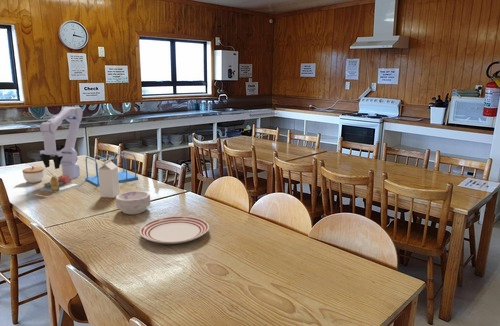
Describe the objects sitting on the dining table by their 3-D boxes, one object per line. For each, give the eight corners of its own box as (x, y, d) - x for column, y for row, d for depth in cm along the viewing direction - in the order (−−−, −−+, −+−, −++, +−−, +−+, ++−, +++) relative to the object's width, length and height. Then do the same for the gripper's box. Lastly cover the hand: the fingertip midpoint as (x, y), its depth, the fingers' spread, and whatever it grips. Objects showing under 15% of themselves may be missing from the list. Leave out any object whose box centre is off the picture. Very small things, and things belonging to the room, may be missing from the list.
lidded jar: (38, 185, 216) (36, 169, 214) (19, 184, 216) (17, 168, 214) (48, 179, 226) (46, 164, 224) (30, 179, 227) (29, 164, 224)
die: (63, 181, 220) (62, 174, 219) (69, 182, 220) (69, 175, 219) (59, 183, 217) (58, 176, 216) (65, 184, 216) (64, 177, 215)
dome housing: (55, 184, 217) (54, 180, 216) (63, 186, 215) (63, 181, 214) (44, 187, 211) (44, 183, 210) (53, 189, 208) (53, 185, 208)
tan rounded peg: (56, 189, 207) (54, 175, 205) (60, 189, 205) (59, 176, 203) (50, 191, 203) (48, 177, 201) (55, 191, 202) (53, 177, 200)
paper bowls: (134, 203, 188) (133, 188, 186) (157, 209, 180) (156, 193, 179) (109, 212, 175) (108, 196, 173) (132, 219, 168) (131, 202, 166)
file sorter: (97, 187, 213) (95, 161, 209) (85, 181, 225) (82, 155, 222) (138, 179, 230) (136, 154, 226) (125, 173, 242) (123, 150, 238)
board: (63, 182, 222) (63, 181, 222) (84, 185, 216) (84, 184, 216) (36, 190, 206) (36, 189, 206) (57, 194, 200) (57, 193, 200)
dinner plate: (137, 226, 161) (136, 218, 160) (200, 218, 171) (200, 211, 170) (143, 254, 136) (142, 246, 135) (217, 244, 146) (216, 235, 145)
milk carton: (119, 193, 202) (117, 159, 198) (113, 198, 195) (111, 162, 191) (106, 193, 203) (104, 158, 198) (100, 197, 196) (97, 161, 192)
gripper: (34, 144, 209) (36, 168, 212) (53, 146, 203) (55, 170, 206) (45, 142, 215) (47, 165, 218) (64, 144, 210) (66, 168, 213)
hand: (52, 167), depth 212 cm, fingers open, 7 cm apart
